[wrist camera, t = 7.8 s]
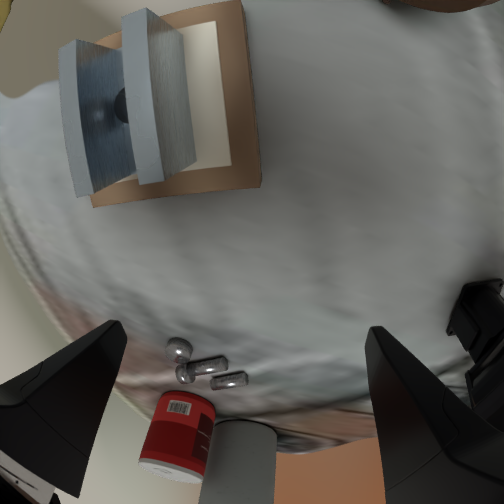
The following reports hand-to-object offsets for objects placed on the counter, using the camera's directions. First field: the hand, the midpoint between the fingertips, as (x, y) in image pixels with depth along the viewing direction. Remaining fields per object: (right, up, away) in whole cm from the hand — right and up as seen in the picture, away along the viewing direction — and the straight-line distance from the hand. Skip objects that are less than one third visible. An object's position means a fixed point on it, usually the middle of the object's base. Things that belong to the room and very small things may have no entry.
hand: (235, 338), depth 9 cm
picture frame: (-5, +13, +7) cm, 15 cm away
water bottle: (0, -24, +26) cm, 36 cm away
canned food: (-8, -18, +23) cm, 30 cm away
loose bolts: (-4, -9, +18) cm, 20 cm away
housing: (-6, +11, +5) cm, 13 cm away
